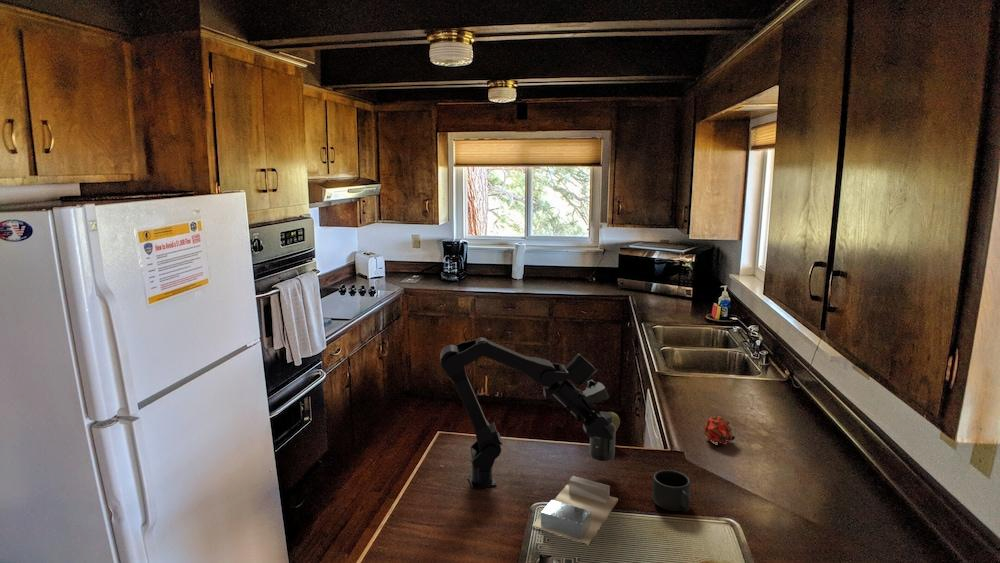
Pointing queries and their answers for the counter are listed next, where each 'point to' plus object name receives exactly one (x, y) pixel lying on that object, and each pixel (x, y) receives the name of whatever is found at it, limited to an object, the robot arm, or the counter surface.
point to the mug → (671, 490)
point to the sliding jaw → (566, 518)
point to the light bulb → (615, 420)
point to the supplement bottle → (604, 442)
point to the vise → (585, 505)
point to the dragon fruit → (718, 430)
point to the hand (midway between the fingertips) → (607, 433)
